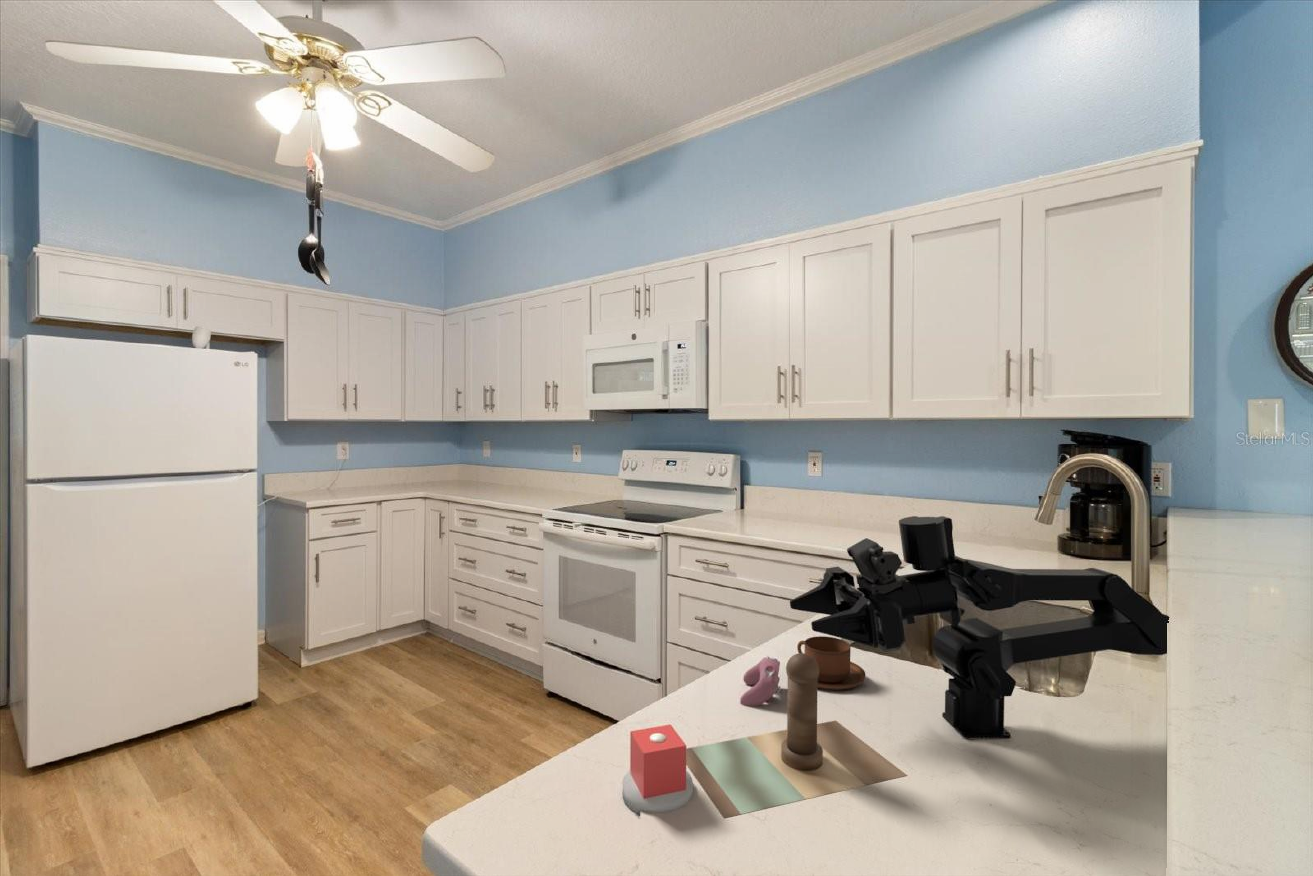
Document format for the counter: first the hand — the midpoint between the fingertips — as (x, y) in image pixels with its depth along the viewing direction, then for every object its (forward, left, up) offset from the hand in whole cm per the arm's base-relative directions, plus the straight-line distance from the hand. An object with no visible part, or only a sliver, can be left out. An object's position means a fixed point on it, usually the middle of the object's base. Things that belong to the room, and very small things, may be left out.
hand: (800, 615), depth 82 cm
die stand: (+20, +13, -16) cm, 29 cm away
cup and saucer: (-9, -18, -17) cm, 26 cm away
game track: (+3, +8, -16) cm, 18 cm away
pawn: (+2, +7, -16) cm, 17 cm away
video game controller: (+3, -12, -17) cm, 21 cm away
